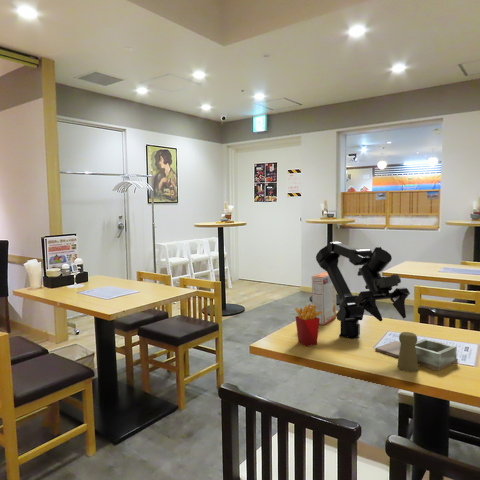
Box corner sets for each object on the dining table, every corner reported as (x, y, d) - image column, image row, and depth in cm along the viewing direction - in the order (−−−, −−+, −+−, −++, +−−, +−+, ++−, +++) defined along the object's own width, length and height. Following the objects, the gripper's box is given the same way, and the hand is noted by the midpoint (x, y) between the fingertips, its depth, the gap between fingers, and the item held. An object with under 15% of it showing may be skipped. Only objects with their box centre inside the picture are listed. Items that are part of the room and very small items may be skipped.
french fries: (294, 342, 148) (294, 302, 147) (313, 338, 151) (313, 300, 150) (307, 349, 140) (307, 307, 139) (327, 346, 143) (327, 305, 142)
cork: (420, 372, 119) (421, 336, 118) (399, 371, 120) (399, 335, 119) (415, 364, 125) (416, 330, 124) (395, 363, 126) (395, 329, 125)
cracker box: (324, 316, 183) (324, 271, 182) (336, 317, 180) (336, 272, 178) (311, 323, 172) (311, 275, 170) (324, 325, 168) (324, 276, 167)
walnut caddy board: (375, 350, 138) (375, 336, 137) (396, 343, 144) (396, 329, 144) (437, 371, 120) (437, 354, 119) (457, 361, 126) (457, 346, 126)
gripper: (360, 267, 130) (381, 309, 121) (407, 264, 136) (430, 304, 126) (346, 286, 138) (364, 326, 129) (391, 282, 144) (411, 320, 135)
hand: (393, 319), depth 130 cm, fingers open, 9 cm apart
